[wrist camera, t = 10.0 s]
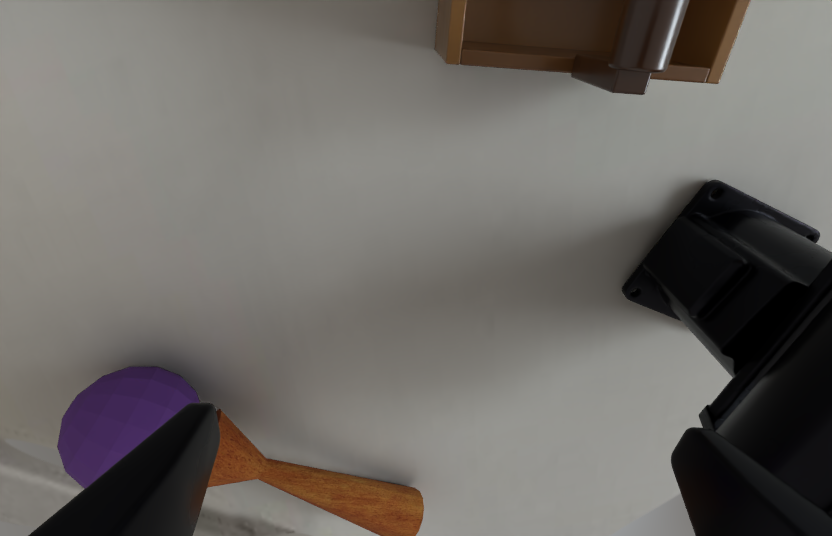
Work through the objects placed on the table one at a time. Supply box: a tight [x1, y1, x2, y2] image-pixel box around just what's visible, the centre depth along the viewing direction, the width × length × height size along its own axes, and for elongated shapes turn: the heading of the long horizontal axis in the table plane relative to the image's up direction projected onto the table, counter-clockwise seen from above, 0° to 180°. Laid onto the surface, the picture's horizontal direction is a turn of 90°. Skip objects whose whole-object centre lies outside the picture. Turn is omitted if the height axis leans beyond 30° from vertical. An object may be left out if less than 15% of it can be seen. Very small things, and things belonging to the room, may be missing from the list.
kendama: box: [57, 367, 424, 536], centre depth 25 cm, size 6×6×20 cm
